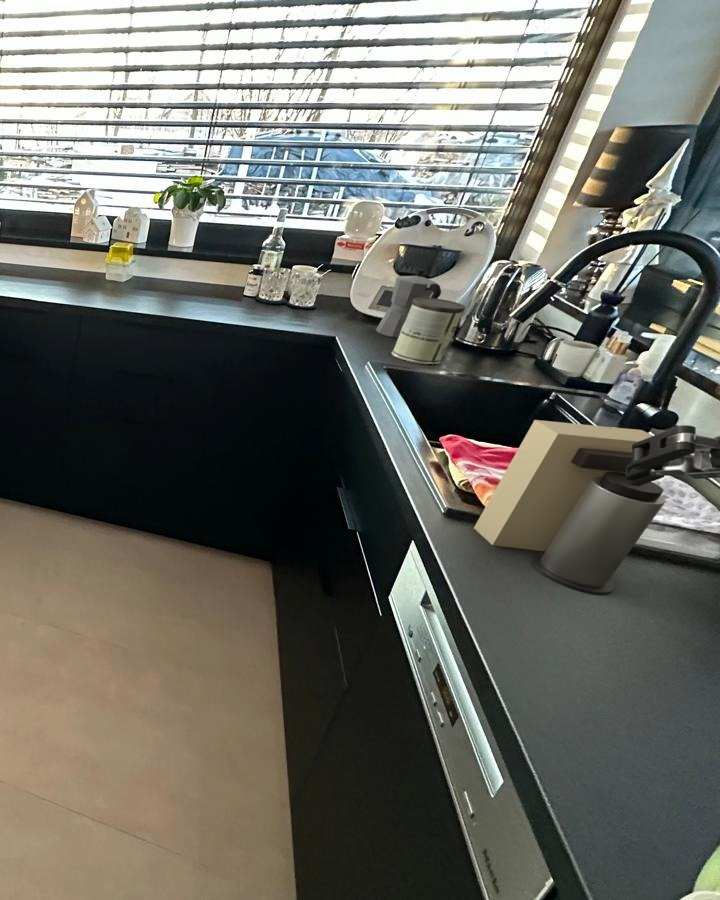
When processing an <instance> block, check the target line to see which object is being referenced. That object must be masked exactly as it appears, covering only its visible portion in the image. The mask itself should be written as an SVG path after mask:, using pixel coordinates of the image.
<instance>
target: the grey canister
mask: <svg viewBox="0 0 720 900" xmlns="http://www.w3.org/2000/svg"><path fill="white" fill-rule="evenodd" d="M625 477H626V473H621V472H606V473H604V475H603V477H601V476H600V477H595V478H593V479H592V481H591V482H590V484H589V485H588V487H587V488H586V490H585V492H584V493H583V495H582V496H581V498H580V499H579V501H578V502H577V504H576V506H575V507H574V509H573V510H572V512H571V513H570V515H569V516H568V518H567V520H566V521H565V523H564V524H563V526H562V527H561V529H560V530H559V532H558V533H557V535H556V537H555V538H554V540H553V541H552V543H551V544H550V546H549V547H548V549H547V551H544V553H545V554H544V555H543V557H542V558H541V563H542V565H543V566H544V567H545V568H546V569H547V570H548V571H550V572H551V573H553V574H555V575H556V576H558V577H560V578H562V579H565V580H567V581H569V582H572V583H575V584H578V585H582V586H586V587H593V588H599V587H603V586H605V585H606V583H607V582H608V581H609V579H610V580H611V578H613V575H614V574H615V572H616V571H617V570H618V568H619V567H620V565H622V563H623V562H624V560H625V559H626V557H627V556H628V554H629V553H630V552H631V550H632V549H633V548H634V546H635V545H636V544H637V542H638V540H639V539H640V538H641V536H642V535H643V533H644V532H645V531H646V530H647V528H648V527H649V525H650V524H651V522H653V520H654V519H655V517H656V516H657V514H659V512H660V510H661V509H662V508H663V506H664V505H665V503H666V498H665V497H664V496H663V493H664V489H663V487H661V486H660V485H658V484H657V483H655V482H654V481H652V482H649V483H646V484H644V485H641V486H634V485H629V484H628V483H627V480H626V479H625Z"/></svg>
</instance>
